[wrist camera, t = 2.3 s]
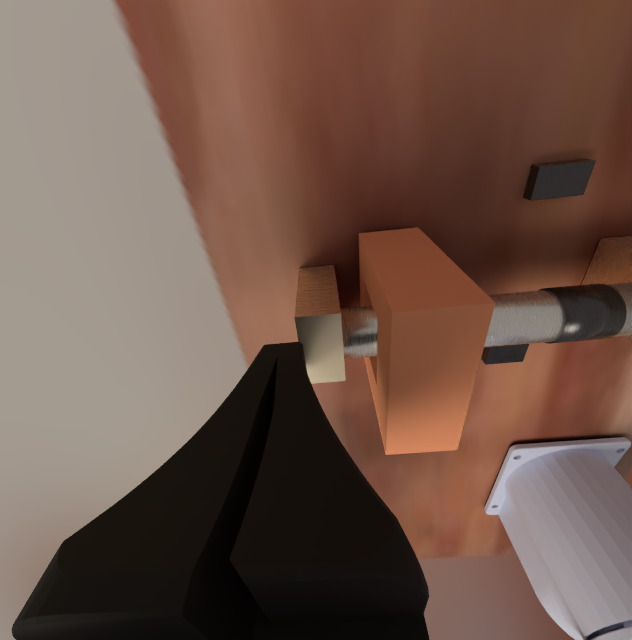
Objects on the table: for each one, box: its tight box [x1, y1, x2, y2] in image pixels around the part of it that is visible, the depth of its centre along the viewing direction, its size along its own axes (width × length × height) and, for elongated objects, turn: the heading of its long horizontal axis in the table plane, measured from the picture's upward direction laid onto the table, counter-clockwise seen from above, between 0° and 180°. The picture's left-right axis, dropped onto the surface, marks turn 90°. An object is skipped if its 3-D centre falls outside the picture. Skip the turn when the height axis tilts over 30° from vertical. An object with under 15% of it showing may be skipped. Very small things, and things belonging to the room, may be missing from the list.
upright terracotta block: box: [359, 227, 495, 455], centre depth 12 cm, size 2×6×6 cm, turn 6°
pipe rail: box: [295, 159, 632, 383], centre depth 13 cm, size 15×10×4 cm, turn 96°
